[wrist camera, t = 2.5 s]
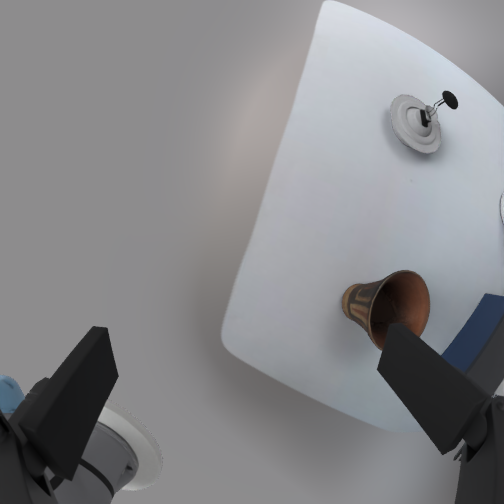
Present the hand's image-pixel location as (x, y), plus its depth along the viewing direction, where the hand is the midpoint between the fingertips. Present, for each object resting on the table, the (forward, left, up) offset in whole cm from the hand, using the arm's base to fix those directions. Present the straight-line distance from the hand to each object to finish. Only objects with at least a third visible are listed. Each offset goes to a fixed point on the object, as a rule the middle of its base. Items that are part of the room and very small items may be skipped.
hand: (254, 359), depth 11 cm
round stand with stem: (+35, +1, -22) cm, 42 cm away
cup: (+11, -12, -22) cm, 27 cm away
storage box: (+23, -37, -22) cm, 49 cm away
